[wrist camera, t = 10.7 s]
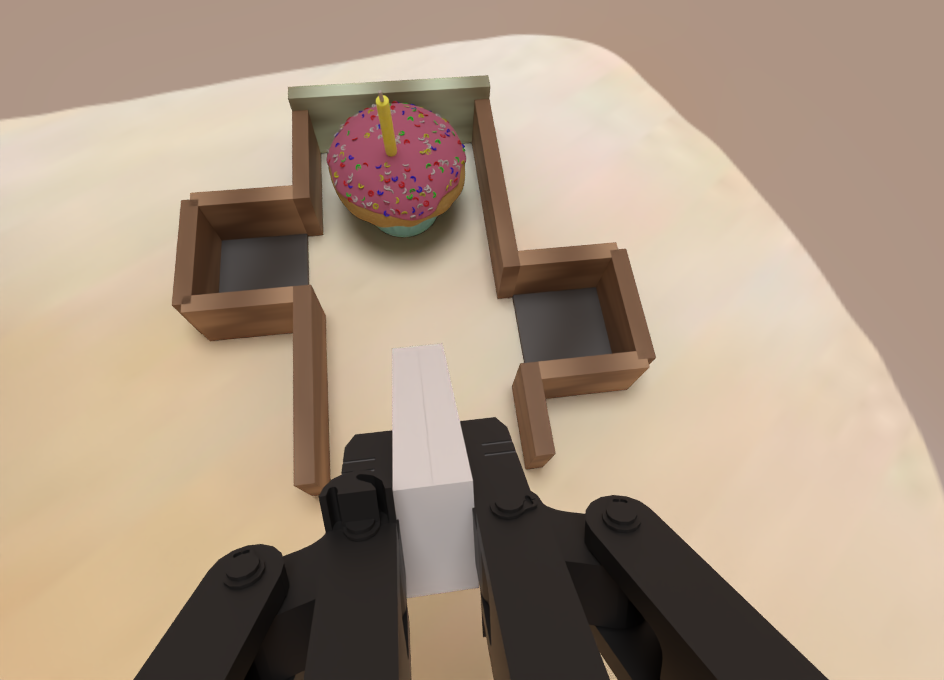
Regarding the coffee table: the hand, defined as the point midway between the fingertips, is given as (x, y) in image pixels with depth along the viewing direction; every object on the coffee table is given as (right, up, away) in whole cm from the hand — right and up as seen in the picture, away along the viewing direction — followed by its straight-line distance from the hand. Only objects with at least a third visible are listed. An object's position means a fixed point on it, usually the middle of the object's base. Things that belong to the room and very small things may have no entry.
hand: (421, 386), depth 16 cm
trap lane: (-2, +4, +19) cm, 19 cm away
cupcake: (-3, +11, +21) cm, 24 cm away
